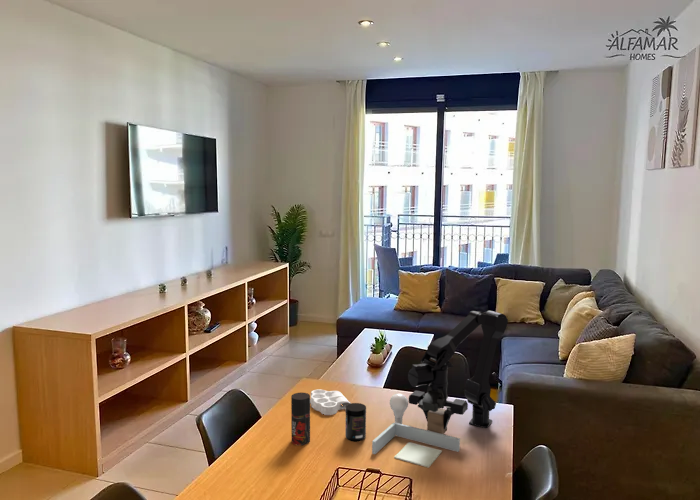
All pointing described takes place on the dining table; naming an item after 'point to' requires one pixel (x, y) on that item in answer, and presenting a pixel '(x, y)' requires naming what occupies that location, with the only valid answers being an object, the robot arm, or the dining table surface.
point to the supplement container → (355, 422)
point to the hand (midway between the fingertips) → (437, 426)
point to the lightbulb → (398, 406)
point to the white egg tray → (328, 401)
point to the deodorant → (300, 418)
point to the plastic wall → (415, 437)
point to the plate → (418, 454)
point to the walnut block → (436, 421)
